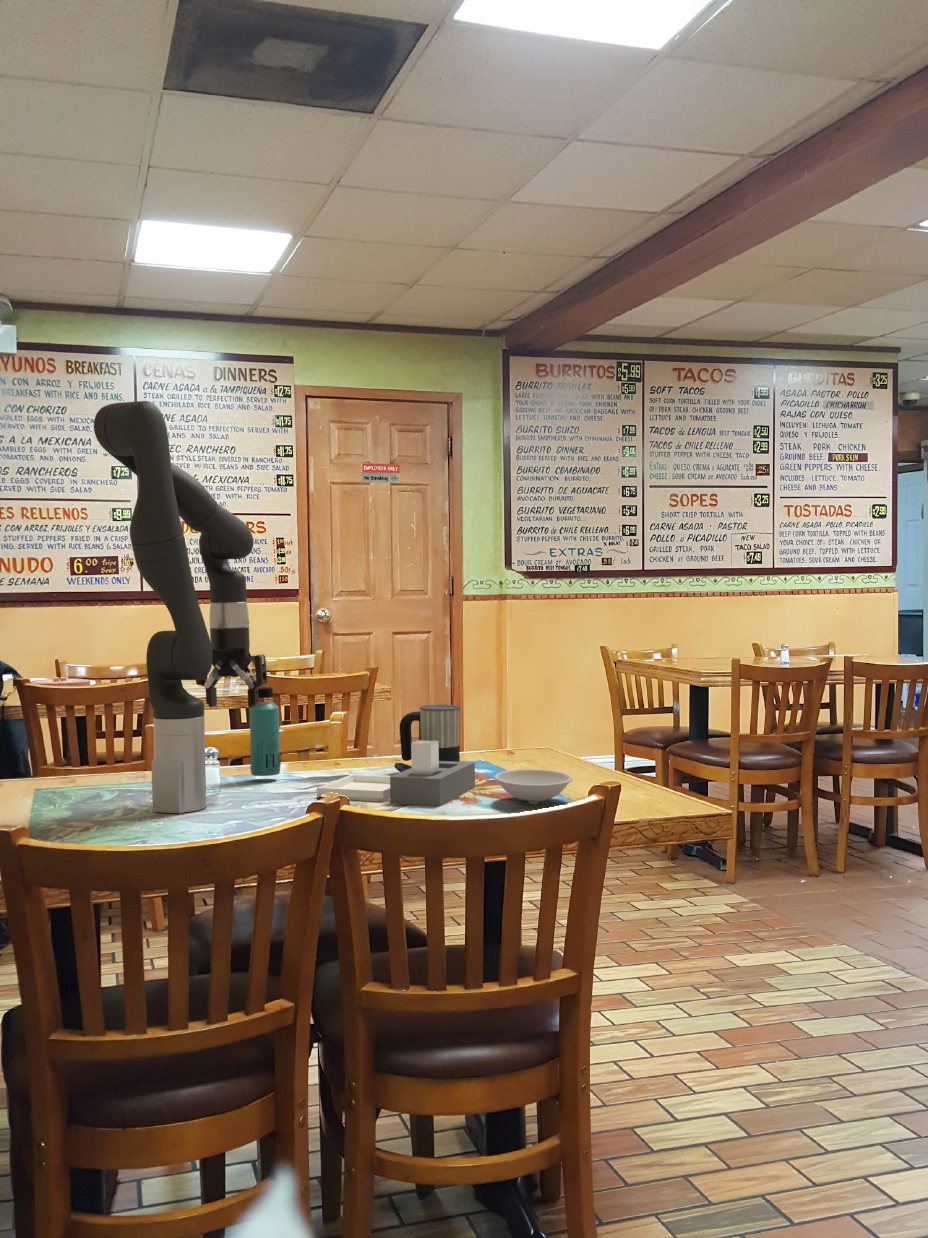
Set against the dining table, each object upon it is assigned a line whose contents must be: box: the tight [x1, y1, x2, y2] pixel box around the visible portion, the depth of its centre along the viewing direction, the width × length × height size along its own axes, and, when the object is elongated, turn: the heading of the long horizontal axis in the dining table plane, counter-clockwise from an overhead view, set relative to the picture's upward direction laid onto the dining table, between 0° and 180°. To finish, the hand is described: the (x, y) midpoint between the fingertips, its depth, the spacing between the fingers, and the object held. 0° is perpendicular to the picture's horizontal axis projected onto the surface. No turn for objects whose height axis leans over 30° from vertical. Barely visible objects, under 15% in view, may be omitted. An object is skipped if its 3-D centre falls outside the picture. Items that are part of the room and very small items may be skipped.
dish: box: [493, 768, 574, 805], centre depth 200 cm, size 18×14×5 cm
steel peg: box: [411, 739, 439, 776], centre depth 205 cm, size 4×4×11 cm
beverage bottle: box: [248, 686, 282, 777], centre depth 229 cm, size 6×7×20 cm
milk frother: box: [393, 704, 462, 773], centre depth 231 cm, size 14×16×15 cm
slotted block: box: [389, 761, 476, 807], centre depth 210 cm, size 20×10×5 cm, turn 160°
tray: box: [316, 773, 392, 802], centre depth 214 cm, size 16×14×2 cm
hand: (232, 707), depth 212 cm, fingers open, 8 cm apart
